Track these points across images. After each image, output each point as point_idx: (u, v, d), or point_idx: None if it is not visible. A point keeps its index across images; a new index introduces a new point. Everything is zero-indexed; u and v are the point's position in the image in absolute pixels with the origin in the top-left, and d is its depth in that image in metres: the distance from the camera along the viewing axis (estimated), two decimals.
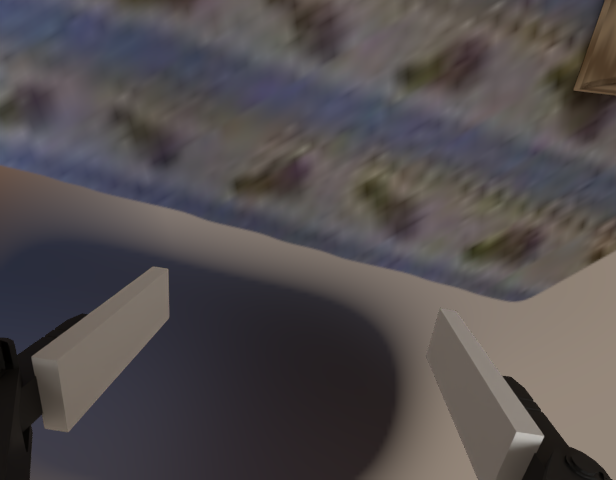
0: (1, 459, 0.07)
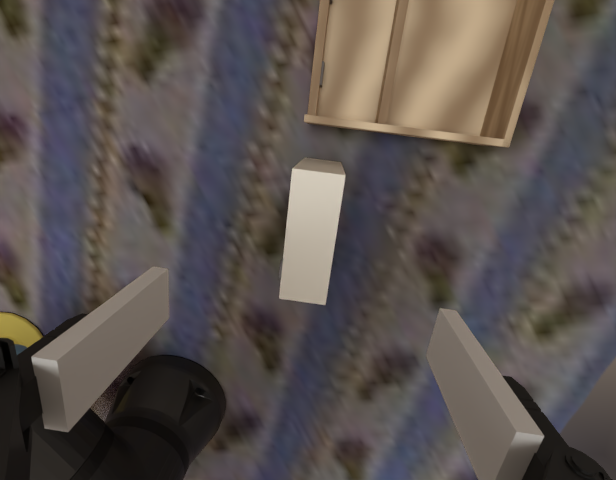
0: (1, 459, 0.07)
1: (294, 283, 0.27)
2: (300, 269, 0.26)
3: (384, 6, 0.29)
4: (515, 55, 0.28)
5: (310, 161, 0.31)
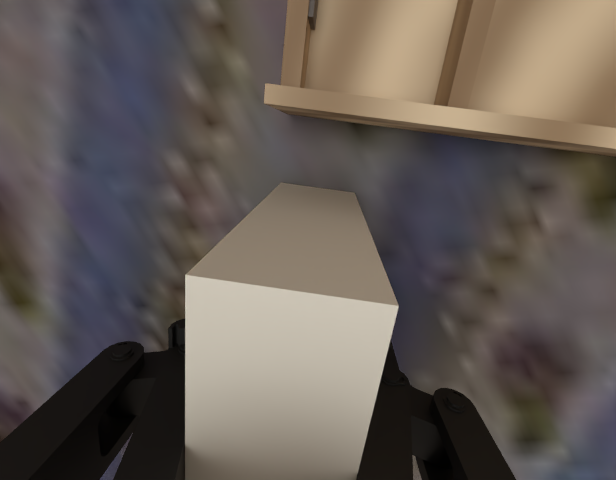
0: (183, 428, 0.08)
1: None
2: None
3: None
4: None
5: (287, 200, 0.13)
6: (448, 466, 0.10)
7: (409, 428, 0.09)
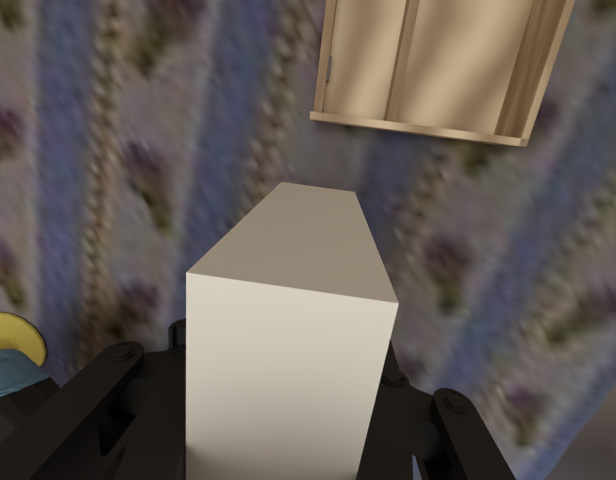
0: (183, 428, 0.08)
1: None
2: None
3: None
4: (534, 49, 0.26)
5: (287, 199, 0.13)
6: (448, 466, 0.10)
7: (409, 428, 0.09)
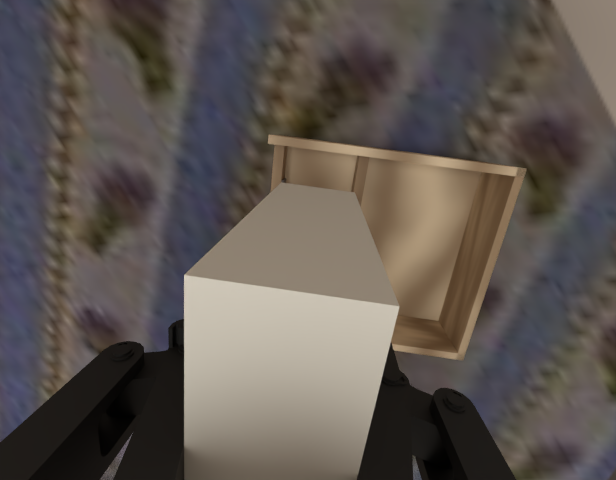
0: (183, 428, 0.08)
1: None
2: None
3: None
4: (469, 267, 0.27)
5: (287, 199, 0.13)
6: (448, 466, 0.10)
7: (409, 428, 0.09)
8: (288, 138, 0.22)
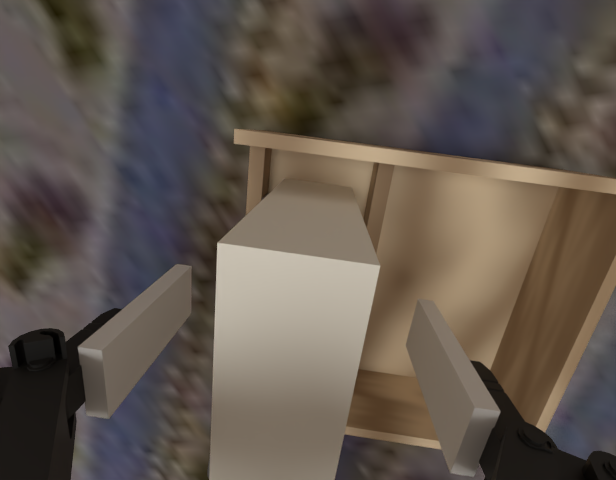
0: (48, 445, 0.07)
1: None
2: None
3: None
4: (541, 326, 0.18)
5: (291, 192, 0.15)
6: None
7: None
8: (266, 134, 0.14)
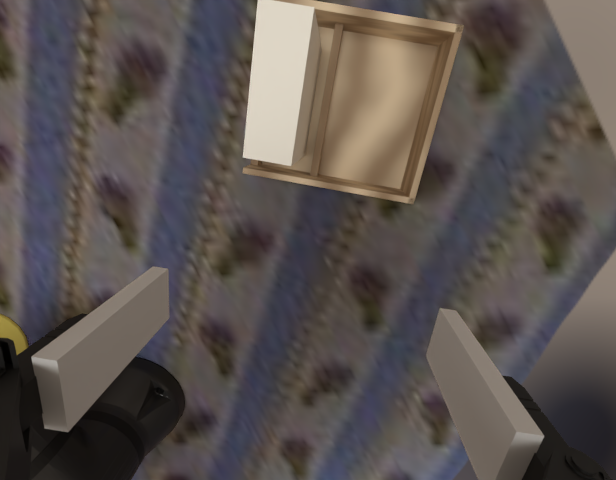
0: (1, 459, 0.07)
1: (258, 139, 0.25)
2: (265, 122, 0.25)
3: (318, 76, 0.34)
4: (422, 127, 0.33)
5: None
6: None
7: None
8: None
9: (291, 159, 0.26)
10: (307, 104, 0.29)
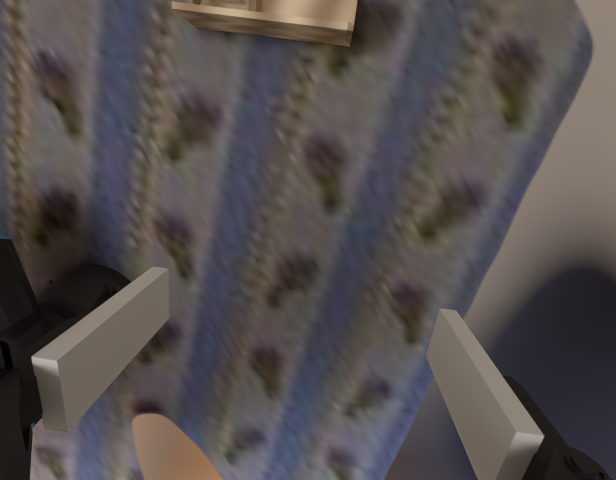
0: (1, 459, 0.07)
1: None
2: None
3: None
4: None
5: None
6: None
7: None
8: None
9: None
10: None
